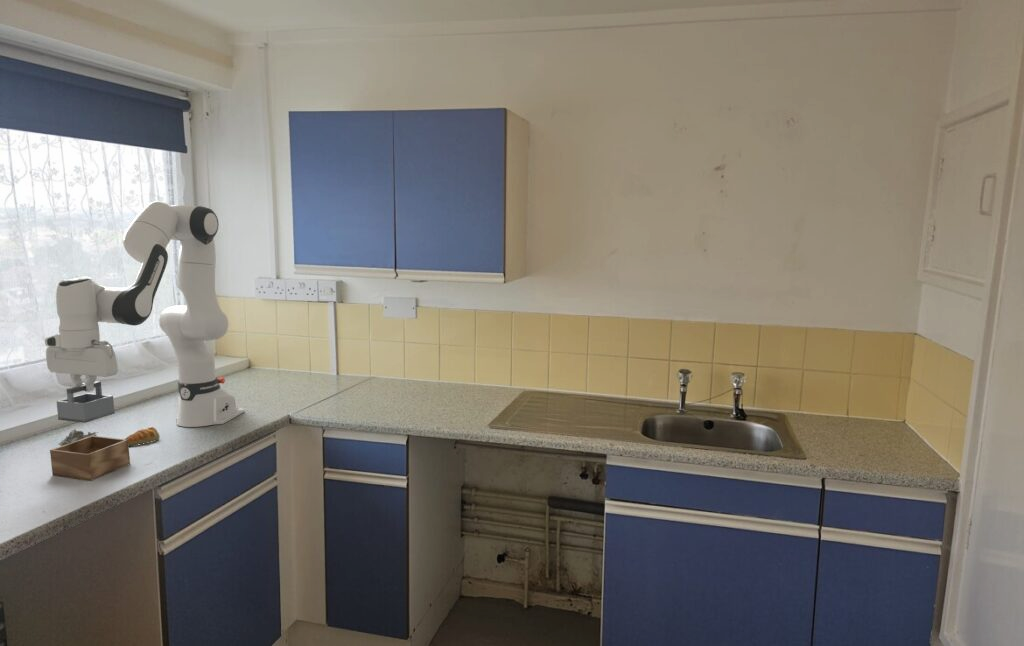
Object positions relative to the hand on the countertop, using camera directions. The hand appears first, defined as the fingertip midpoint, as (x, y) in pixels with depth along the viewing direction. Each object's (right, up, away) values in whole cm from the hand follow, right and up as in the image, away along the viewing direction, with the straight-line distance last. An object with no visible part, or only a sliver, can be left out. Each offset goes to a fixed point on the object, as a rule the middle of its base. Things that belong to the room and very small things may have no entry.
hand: (84, 390), depth 177 cm
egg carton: (-16, -19, +23) cm, 34 cm away
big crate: (0, -22, +3) cm, 22 cm away
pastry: (+1, -19, +27) cm, 33 cm away
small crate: (0, -7, +1) cm, 7 cm away
